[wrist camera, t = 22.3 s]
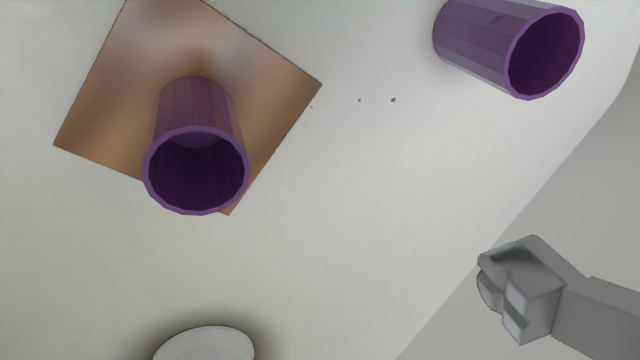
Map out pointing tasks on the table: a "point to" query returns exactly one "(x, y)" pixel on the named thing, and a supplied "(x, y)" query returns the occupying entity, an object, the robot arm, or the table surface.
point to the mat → (174, 62)
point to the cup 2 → (511, 43)
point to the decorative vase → (207, 345)
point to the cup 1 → (194, 148)
